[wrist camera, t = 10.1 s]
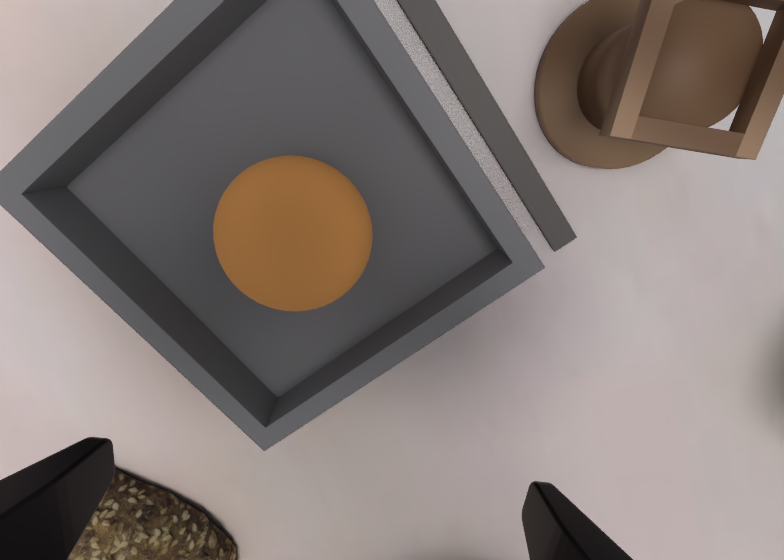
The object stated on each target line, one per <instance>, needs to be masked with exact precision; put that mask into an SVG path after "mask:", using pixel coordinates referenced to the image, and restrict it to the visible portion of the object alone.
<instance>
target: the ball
mask: <svg viewBox="0 0 784 560" xmlns="http://www.w3.org/2000/svg"><path fill="white" fill-rule="evenodd" d="M372 239H373V237H372V223H371V218H370V214H369V211H368V209H367V206H366V203H365V201H364V199H363V197H362V196H361V194H360V193H359V191H358V190H357V188H356V187H355V186H354V185H353V183H352V182H351V181H350V180H349V179H348V178H347V177H346V176H345V175H343V174H342V173H341V172H340V171H338V170H337V169H335V168H333V167H332V166H330V165H328V164H326V163H324V162H321V161H319V160H316V159H312V158H309V157H303V156H293V155H289V156H277V157H273V158H269V159H266V160H263V161H261V162H258V163H256V164H254V165H252V166H250V167H248V168H247V169H246V170H244V171H243V172H242V173H240V174H239V175H238V176H237V177H236V178H235V179H234V180H233V181H232V182H231V183H230V185H229V186H228V187H227V189H226V190H225V192H224V193H223V195H222V197H221V199H220V201H219V204H218V207H217V210H216V213H215V217H214V224H213V240H214V245H215V250H216V254H217V257H218V259H219V262H220V264H221V266H222V268H223V270H224V272H225V273H226V275H227V276H228V278H229V279H230V280H231V282H232V283H233V284H234V285H235V286H236V287H237V288H238V289H239V290H240V291H241V292H243V293H244V294H245V295H246V296H248V297H249V298H251V299H253V300H254V301H256V302H258V303H260V304H262V305H264V306H267V307H270V308H273V309H277V310H283V311H306V310H312V309H316V308H319V307H323V306H325V305H327V304H329V303H332V302H333V301H335V300H337V299H338V298H340V297H341V296H343V295H344V294H345V293H346V292H347V291H349V290H350V289H351V288H352V286H353V285H354V284H355V283H356V282H357V280H358V279H359V278H360V276H361V275H362V273H363V271H364V269H365V267H366V265H367V262H368V260H369V256H370V252H371V248H372Z"/></svg>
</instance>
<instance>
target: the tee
mask: <svg viewBox="0 0 784 560" xmlns="http://www.w3.org/2000/svg"><path fill="white" fill-rule="evenodd" d="M749 6H753V7H758V8H764V9H769V10H774V11H776V14H775V16H774V19H773V21H772V24H771V26H770V29H769V31H768V34H767V36H766V39H765V41H764V44H763V37H762V31H761V27H760V24H759V21H758V19H757V17H756V15H755V13H754V12H753V11H752V9H751V8H750V7H749ZM783 95H784V0H589V1H588V2H586V3H585V4H584V5H582V6H581V7H579V8H578V9H576V10H575V11H574V12H573V13H572V14H571V15H570V16H568V17H567V18H566V20H565V21H564V22H563V23H562V24H561V25H560V26H559V28H558V29H557V30H556V32H555V33H554V34H553V36H552V37H551V39H550V41H549V43H548V44H547V46H546V48H545V50H544V53H543V55H542V57H541V60H540V63H539V67H538V70H537V75H536V80H535V92H534V96H535V108H536V113H537V118H538V121H539V124H540V127H541V129H542V131H543V133H544V135H545V136H546V138H547V139H548V141H549V142H550V144H551V145H552V146H553V147H554V148H555V149H556V150H557V151H558V152H559V153H560V154H562V155H563V156H564V157H566V158H568V159H569V160H571V161H573V162H575V163H578V164H581V165H585V166H589V167H595V168H603V169H618V168H624V167H629V166H633V165H636V164H639V163H641V162H644V161H646V160H648V159H650V158H652V157H654V156H655V155H657V154H659V153H660V152H661V151H663V150H664V149H665V148H667V147H671V148H677V149H683V150H689V151H695V152H701V153H708V154H714V155H720V156H726V157H732V158H738V159H753V160H756V158H757V155H758V153H759V151H760V148H761V146H762V144H763V141H764V139H765V137H766V134H767V132H768V130H769V127H770V125H771V123H772V120H773V118H774V116H775V113H776V111H777V109H778V106H779V104H780V102H781V99H782V97H783ZM738 105H739V107H738V109H737V112H736V114H735V117H734V119H733V122H732V124H731V127H730V129H729V131H725V130H719V129H713V128H708V127H710V126H712V125H714V124H716V123H717V122H719V121H721V120H722V119H724V118H725V117H726V116H728V115H729V114H730V113H731V112H732V111H733V110H734V109H735V108H736V107H737V106H738Z"/></svg>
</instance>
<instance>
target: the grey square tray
mask: <svg viewBox="0 0 784 560" xmlns="http://www.w3.org/2000/svg"><path fill="white" fill-rule="evenodd" d="M289 155H293V156H303V157H309V158H312V159H316V160H319V161H321V162H324V163H326V164H328V165H330V166H332V167H333V168H335V169H337V170H338V171H340V172H341V173H342V174H343V175H345V176H346V177H347V178H348V179H349V180H350V181H351V182H352V183H353V185H354V186H355V187H356V188H357V190H358V191H359V193H360V194H361V196H362V197H363V199H364V201H365V203H366V206H367V209H368V211H369V214H370V218H371V223H372V237H373V239H372V248H371V252H370V256H369V260H368V262H367V265H366V267H365V269H364V271H363V273H362V275H361V276H360V278H359V279H358V280H357V282H356V283H355V284H354V285H353V286H352V288H351V289H350V290H349V291H347V292H346V293H345V294H344V295H343V296H341V297H340V298H338V299H337V300H335V301H333V302H332V303H329V304H327V305H325V306H323V307H319V308H316V309H312V310H306V311H283V310H277V309H273V308H270V307H267V306H264V305H262V304H260V303H258V302H256V301H254V300H253V299H251V298H249V297H248V296H246V295H245V294H244V293H243V292H241V291H240V290H239V289H238V288H237V287H236V286H235V285H234V284H233V283H232V282H231V280H230V279H229V278H228V276H227V275H226V273H225V272H224V270H223V268H222V266H221V264H220V262H219V259H218V257H217V254H216V250H215V245H214V240H213V224H214V217H215V213H216V210H217V207H218V204H219V201H220V199H221V197H222V195H223V193H224V192H225V190H226V189H227V187H228V186H229V185H230V183H231V182H232V181H233V180H234V179H235V178H236V177H237V176H238V175H239V174H240V173H242V172H243V171H244V170H246V169H247V168H248V167H250V166H252V165H254V164H256V163H258V162H261V161H263V160H266V159H269V158H273V157H277V156H289ZM0 205H1V206H2V207H3V208H4V209H5V210H6V211H8V212H9V213H10V214H11V215H12V216H13V217H14V218H15V219H16V220H17V221H18V222H19V223H20V224H21V225H23V226H24V227H25V228H26V229H27V230H28V231H29V232H30V233H31V234H32V235H33V236H34V237H35V238H36V239H38V240H39V241H40V242H41V243H42V244H43V245H44V246H45V247H46V248H47V249H48V250H49V251H50V252H51V253H53V254H54V255H55V256H56V257H57V258H58V259H59V260H60V261H61V262H62V263H63V264H64V265H65V266H66V267H68V268H69V269H70V270H71V271H72V272H73V273H74V274H75V275H76V276H77V277H78V278H79V279H80V280H81V281H83V282H84V283H85V284H86V285H87V286H88V287H89V288H90V289H91V290H92V291H93V292H94V293H95V294H96V295H98V296H99V297H100V298H101V299H102V300H103V301H104V302H105V303H106V304H107V305H108V306H109V307H110V308H111V309H113V310H114V311H115V312H116V313H117V314H118V315H119V316H120V317H121V318H122V319H123V320H124V321H125V322H126V323H128V324H129V325H130V326H131V327H132V328H133V329H134V330H135V331H136V332H137V333H138V334H139V335H140V336H141V337H143V338H144V339H145V340H146V341H147V342H148V343H149V344H150V345H151V346H152V347H153V348H154V349H155V350H156V351H158V352H159V353H160V354H161V355H162V356H163V357H164V358H165V359H166V360H167V361H168V362H169V363H170V364H171V365H173V366H174V367H175V368H176V369H177V370H178V371H179V372H180V373H181V374H182V375H183V376H184V377H185V378H186V379H188V380H189V381H190V382H191V383H192V384H193V385H194V386H195V387H196V388H197V389H198V390H199V391H200V392H201V393H203V394H204V395H205V396H206V397H207V398H208V399H209V400H210V401H211V402H212V403H213V404H214V405H215V406H216V407H218V408H219V409H220V410H221V411H222V412H223V413H224V414H225V415H226V416H227V417H228V418H229V419H230V420H231V421H232V422H234V423H235V424H236V425H237V426H238V427H239V428H240V429H241V430H242V431H243V432H244V433H245V434H246V435H247V436H249V437H250V438H251V439H252V440H253V441H254V442H255V443H256V444H257V445H258V446H259V447H260V448H261V449H262V450H264V451H265V450H267V449H268V448H270V447H271V446H273V445H274V444H276V443H277V442H279V441H281V440H282V439H284V438H285V437H287V436H288V435H290V434H291V433H293V432H294V431H296V430H297V429H299V428H300V427H302V426H303V425H305V424H307V423H308V422H310V421H311V420H313V419H314V418H316V417H317V416H319V415H320V414H322V413H323V412H325V411H326V410H328V409H329V408H331V407H333V406H334V405H336V404H337V403H339V402H340V401H342V400H343V399H345V398H346V397H348V396H349V395H351V394H352V393H354V392H355V391H357V390H358V389H360V388H362V387H363V386H365V385H366V384H368V383H369V382H371V381H372V380H374V379H375V378H377V377H378V376H380V375H381V374H383V373H384V372H386V371H388V370H389V369H391V368H392V367H394V366H395V365H397V364H398V363H400V362H401V361H403V360H404V359H406V358H407V357H409V356H410V355H412V354H414V353H415V352H417V351H418V350H420V349H421V348H423V347H424V346H426V345H427V344H429V343H430V342H432V341H433V340H435V339H436V338H438V337H440V336H441V335H443V334H444V333H446V332H447V331H449V330H450V329H452V328H453V327H455V326H456V325H458V324H459V323H461V322H462V321H464V320H466V319H467V318H469V317H470V316H472V315H473V314H475V313H476V312H478V311H479V310H481V309H482V308H484V307H485V306H487V305H488V304H490V303H492V302H493V301H495V300H496V299H498V298H499V297H501V296H502V295H504V294H505V293H507V292H508V291H510V290H511V289H513V288H514V287H516V286H518V285H519V284H521V283H522V282H524V281H525V280H527V279H528V278H530V277H531V276H533V275H534V274H536V273H537V272H539V271H540V270H542V269H544V268H545V267H544V265H543V263H542V262H541V260H540V259H539V257H538V256H537V254H536V253H535V251H534V249H533V248H532V246H531V245H530V243H529V242H528V240H527V239H526V237H525V235H524V234H523V232H522V231H521V229H520V228H519V226H518V225H517V223H516V221H515V220H514V218H513V217H512V215H511V214H510V212H509V210H508V209H507V207H506V206H505V204H504V203H503V201H502V200H501V198H500V196H499V195H498V193H497V192H496V190H495V189H494V187H493V186H492V184H491V182H490V181H489V179H488V178H487V176H486V175H485V173H484V172H483V170H482V168H481V167H480V165H479V164H478V162H477V161H476V159H475V158H474V156H473V154H472V153H471V151H470V150H469V148H468V147H467V145H466V144H465V142H464V140H463V139H462V137H461V136H460V134H459V133H458V131H457V130H456V128H455V126H454V125H453V123H452V122H451V120H450V119H449V117H448V116H447V114H446V112H445V111H444V109H443V108H442V106H441V105H440V103H439V101H438V100H437V98H436V97H435V95H434V94H433V92H432V91H431V89H430V87H429V86H428V84H427V83H426V81H425V80H424V78H423V77H422V75H421V73H420V72H419V70H418V69H417V67H416V66H415V64H414V63H413V61H412V59H411V58H410V56H409V55H408V53H407V52H406V50H405V49H404V47H403V45H402V44H401V42H400V41H399V39H398V38H397V36H396V35H395V33H394V31H393V30H392V28H391V27H390V25H389V24H388V22H387V21H386V19H385V17H384V16H383V14H382V13H381V11H380V10H379V8H378V7H377V5H376V3H375V2H374V0H174V1H173V2H172V3H171V4H170V5H169V6H168V7H167V8H166V9H165V10H164V11H163V12H162V13H161V14H160V15H159V16H158V17H157V18H156V19H155V20H154V21H153V22H152V23H151V24H150V25H149V26H148V27H147V28H146V29H145V30H144V31H143V32H142V33H141V34H140V35H139V36H138V37H137V38H136V39H134V40H133V41H132V42H131V43H130V44H129V45H128V46H127V47H126V48H125V49H124V50H123V51H122V52H121V53H120V54H119V55H118V56H117V57H116V58H115V59H114V60H113V61H112V62H111V63H110V64H109V65H108V66H107V67H106V68H105V69H104V70H103V71H102V72H101V73H100V74H99V75H98V76H97V77H96V78H95V79H94V80H93V81H92V82H91V83H90V84H89V85H88V86H87V87H86V88H85V89H84V90H83V91H82V92H81V93H80V94H79V95H78V96H76V97H75V98H74V99H73V100H72V101H71V102H70V103H69V104H68V105H67V106H66V107H65V108H64V109H63V110H62V111H61V112H60V113H59V114H58V115H57V116H56V117H55V118H54V119H53V120H52V121H51V122H50V123H49V124H48V125H47V126H46V127H45V128H44V129H43V130H42V131H41V132H40V133H39V134H38V135H37V136H36V137H35V138H34V139H33V140H32V141H31V142H30V143H29V144H28V145H27V146H26V147H25V148H24V149H23V150H22V151H21V152H19V153H18V154H17V155H16V156H15V157H14V158H13V159H12V160H11V161H10V162H9V163H8V164H7V165H6V166H5V167H4V168H3V169H2V170H1V171H0Z"/></svg>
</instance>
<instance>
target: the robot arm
mask: <svg viewBox="0 0 784 560" xmlns="http://www.w3.org/2000/svg"><path fill="white" fill-rule="evenodd" d="M114 474H115V463H114V453H113V444H112V442H111V440H110V439H107V438H98V437H89V438H86V439H83V440H81V441H79V442H77V443H75V444H73V445H71V446H69V447H67V448H65V449H63V450H61V451H59V452H57V453H55V454H53V455H51V456H49V457H47V458H45V459H43V460H41V461H39V462H37V463H34V464H32V465H30V466H28V467H26V468H24V469H22V470H20V471H18V472H16V473H14V474H12V475H10V476H8V477H6V478H4V479H2V480H0V560H67V559H68V557H69V556H70V554H71V552H72V551H73V549H74V547H75V546H76V544H77V542H78V540H79V539H80V537H81V535H82V533H83V532H84V530H85V528H86V526H87V525H88V523H89V521H90V519H91V518H92V516H93V514H94V512H95V511H96V509H97V507H98V505H99V504H100V502H101V500H102V498H103V497H104V495H105V493H106V491H107V490H108V488H109V486H110V484H111V482H112V480H113V478H114ZM522 522H523V527H524V532H525V537H526V542H527V547H528V552H529V557H530V560H633V559H632V558H631V557H630V556H629V555H628V554H627V553H625V552H624V551H623V550H622V549H621V548H620V547H619V546H618V545H617V544H616V543H615V542H614V541H613V540H612V539H610V538H609V537H608V536H607V535H606V534H605V533H604V532H603V531H602V530H601V529H600V528H599V527H598V526H597V525H595V524H594V523H593V522H592V521H591V520H590V519H589V518H588V517H587V516H586V515H585V514H584V513H583V512H582V511H580V510H579V509H578V508H577V507H576V506H575V505H574V504H573V503H572V502H571V501H570V500H569V499H568V498H567V497H566V496H564V495H563V494H562V493H561V492H560V491H559V490H558V489H557V488H556V487H555V486H554V485H552V484H551V483H548V482H538V481H534V482H532V483H531V484H530V486H529V489H528V492H527V496H526V499H525V502H524V505H523V509H522Z"/></svg>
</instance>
